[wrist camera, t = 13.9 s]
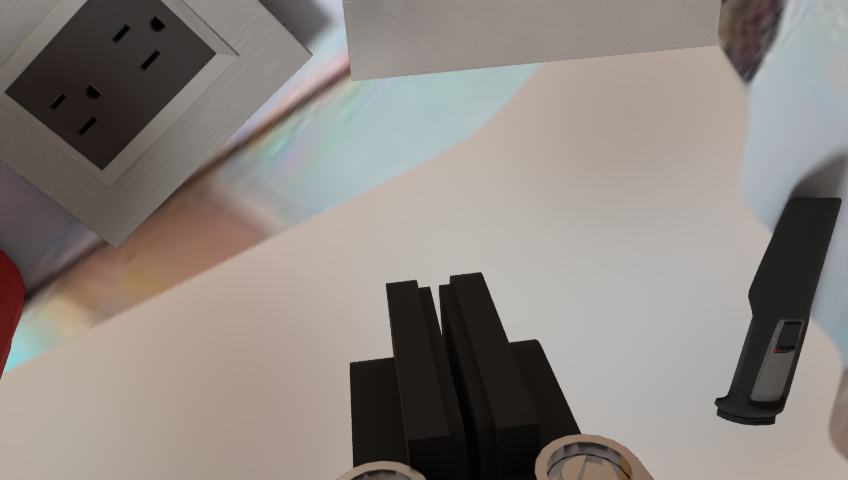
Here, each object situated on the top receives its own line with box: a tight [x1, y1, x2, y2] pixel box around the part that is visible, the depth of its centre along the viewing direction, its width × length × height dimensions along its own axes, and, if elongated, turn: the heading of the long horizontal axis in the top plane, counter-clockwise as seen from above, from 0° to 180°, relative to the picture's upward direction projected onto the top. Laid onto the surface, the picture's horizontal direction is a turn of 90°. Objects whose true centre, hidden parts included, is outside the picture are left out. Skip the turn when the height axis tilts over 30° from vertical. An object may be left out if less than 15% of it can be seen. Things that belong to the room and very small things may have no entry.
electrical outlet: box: [0, 0, 313, 248], centre depth 31 cm, size 13×10×2 cm
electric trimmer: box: [715, 198, 841, 425], centre depth 41 cm, size 4×16×3 cm, turn 177°
